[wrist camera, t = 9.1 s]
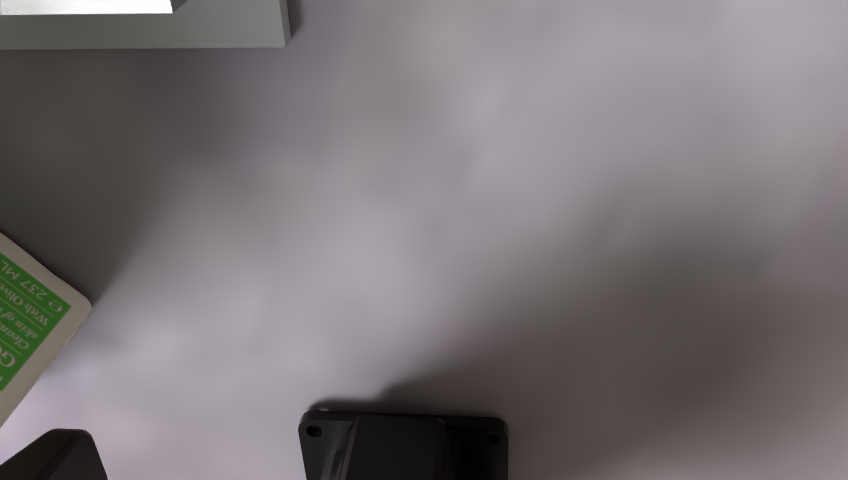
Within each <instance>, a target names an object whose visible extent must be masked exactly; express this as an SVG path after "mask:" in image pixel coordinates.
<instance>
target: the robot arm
mask: <svg viewBox="0 0 848 480" xmlns="http://www.w3.org/2000/svg"><path fill="white" fill-rule="evenodd" d="M312 425H314V426H318V427H319V428H315V427H313V426H312ZM298 432H299V438H300V444H301V450H302V455H303V461H304V467H305V473H306V479H307V480H508V440H509V429H508V425H507V424H506V423H505V422H504V421H502V420H501V419H499V418H493V417H471V416H446V415H420V414H395V413H369V412H344V411H318V410H314V411H308V412H306V413H304V414H303V416H302V417H301V420H300V424H299V428H298ZM487 433H496V434H497V435H489V434H487ZM0 480H108V479H107V475H106V472H105V469H104V467H103V464H102V461H101V459H100V456H99V453H98V451H97V448H96V445H95V442H94V440H93V438H92V436H91V434H90V433H89V432H87V431H86V430H83V429H52V430H50V431H48V432H46V433H45V434H43V435H42V436H40V437H39V438H38V439H36V440H35V441H33V442H32V443H31V444H29V445H28V446H26V447H25V448H24V449H22V450H21V451H19V452H18V453H17V454H15V455H14V456H12V457H11V458H10V459H8V460H7V461H5V462H4V463H3V464H1V465H0Z"/></svg>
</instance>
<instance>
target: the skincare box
mask: <svg viewBox="0 0 848 480" xmlns="http://www.w3.org/2000/svg"><path fill="white" fill-rule="evenodd" d="M91 311H92V307H91V304H90V302H89V300H88V299H87V298H86V297H84V296H83V295H82V294H81V293H79V292H78V291H77V290H75V289H74V288H73V287H71V286H70V285H69V284H67V283H66V282H64V281H63V280H61V279H60V278H58V277H57V276H55V275H54V274H52V273H51V272H50V271H49V270H48V269H46V268H45V267H44V266H43V265H42V264H40V263H39V262H38V261H37V260H35V259H34V258H33V257H32V256H30V255H29V254H28V253H27V252H26V251H24V250H23V249H22V248H20V247H19V246H18V245H16V244H15V243H14V242H13V241H11V240H10V239H9V238H7V237H6V236H5V235H3V234H2V233H0V428H1V427H2V425H3V424H4V423H5V422H6V420H7V419H8V418H9V416H10V415H11V414H12V412H13V411H14V410H15V409H16V407H17V406H18V405H19V403H20V402H21V401H22V400H23V398H24V397H25V396H26V395H27V393H28V392H29V391H30V389H31V388H32V387H33V386H34V384H35V383H36V382H37V380H38V379H39V378H40V377H41V375H42V374H43V373H44V372H45V370H46V369H47V368H48V366H49V365H50V364H51V363H52V361H53V360H54V359H55V358H56V356H57V355H58V354H59V353H60V351H61V350H62V349H63V348H64V346H65V345H66V344H67V343H68V341H69V340H70V339H71V337H72V336H73V335H74V334H75V332H76V331H77V330H78V328H79V327H80V326H81V325H82V323H83V322H84V321H85V319H86V318H87V317H88V316H89V314H90V313H91Z"/></svg>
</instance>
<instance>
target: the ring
mask: <svg viewBox="0 0 848 480" xmlns="http://www.w3.org/2000/svg"><path fill="white" fill-rule="evenodd" d="M187 1H188V0H0V15H35V14H137V13H174V12H175V11H176V10H177V9H178V8H180V7H181V6H182V5H183V4H184V3H185V2H187Z"/></svg>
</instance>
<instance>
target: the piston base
mask: <svg viewBox="0 0 848 480" xmlns="http://www.w3.org/2000/svg"><path fill="white" fill-rule="evenodd" d="M290 40H291V31H290V24H289V16H288V8H287V1H286V0H188V1H187V2H185V3H184V4H183V5H182V6H181V7H180V8H178V9H177V10H176V11H175V12H174V13H137V14H35V15H0V50H29V49H154V48H280V47H286V46H287V44H288V43H289V42H290Z"/></svg>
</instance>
